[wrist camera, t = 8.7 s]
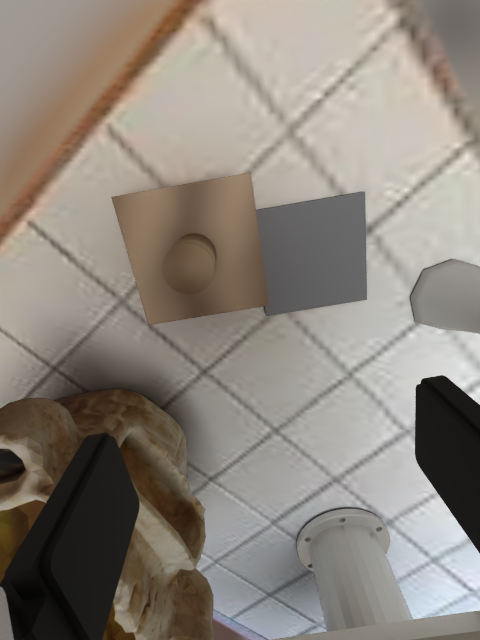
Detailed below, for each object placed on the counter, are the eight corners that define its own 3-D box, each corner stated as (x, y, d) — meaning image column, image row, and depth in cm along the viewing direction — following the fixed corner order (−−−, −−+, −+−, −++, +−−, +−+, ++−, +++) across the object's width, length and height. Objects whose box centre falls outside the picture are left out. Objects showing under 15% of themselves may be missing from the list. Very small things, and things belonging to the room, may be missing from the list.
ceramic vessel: (-180, 454, 27) (-594, 870, 8) (94, 315, 40) (204, 338, 20) (-14, 610, 35) (-8, 1017, 16) (172, 453, 48) (307, 569, 28)
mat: (365, 298, 33) (366, 299, 33) (265, 314, 33) (266, 315, 33) (363, 191, 29) (364, 191, 29) (251, 211, 29) (251, 211, 29)
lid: (249, 173, 24) (256, 169, 19) (267, 301, 28) (277, 329, 22) (115, 196, 24) (83, 199, 19) (150, 320, 28) (132, 353, 23)
